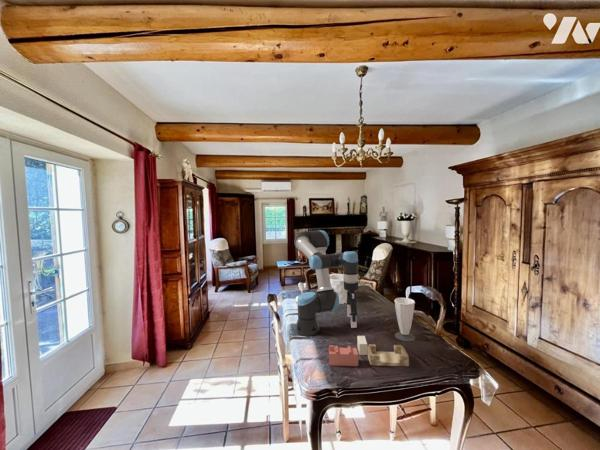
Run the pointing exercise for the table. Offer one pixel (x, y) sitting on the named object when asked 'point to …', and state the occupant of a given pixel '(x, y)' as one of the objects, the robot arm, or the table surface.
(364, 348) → the white block
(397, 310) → the cup
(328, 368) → the table surface
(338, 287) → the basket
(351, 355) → the red notched block
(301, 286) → the potted plant
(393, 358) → the cradle
